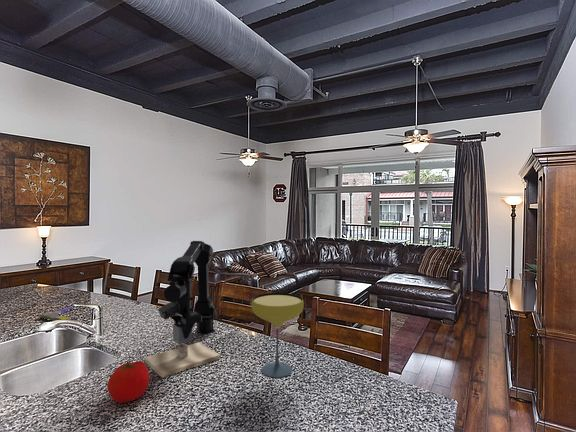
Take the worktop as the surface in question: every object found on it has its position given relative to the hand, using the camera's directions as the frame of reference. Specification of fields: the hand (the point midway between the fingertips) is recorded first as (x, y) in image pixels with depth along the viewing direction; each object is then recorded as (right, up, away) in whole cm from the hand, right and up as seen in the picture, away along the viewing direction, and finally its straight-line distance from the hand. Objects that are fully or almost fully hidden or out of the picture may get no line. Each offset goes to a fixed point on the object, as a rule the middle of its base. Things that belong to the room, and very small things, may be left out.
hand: (182, 336), depth 129 cm
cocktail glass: (+35, -10, -7) cm, 37 cm away
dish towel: (-73, -7, +52) cm, 91 cm away
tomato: (-8, -10, -25) cm, 28 cm away
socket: (0, -2, 0) cm, 2 cm away
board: (0, -9, 0) cm, 9 cm away
